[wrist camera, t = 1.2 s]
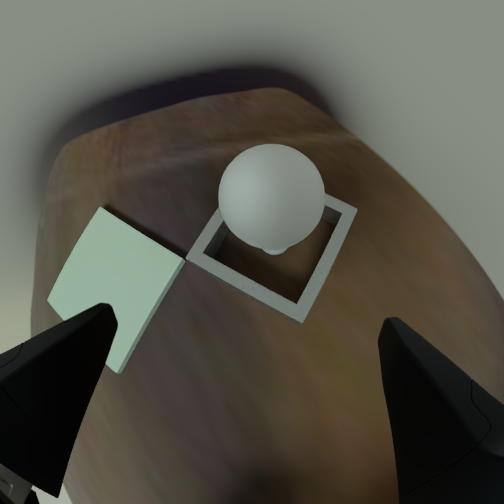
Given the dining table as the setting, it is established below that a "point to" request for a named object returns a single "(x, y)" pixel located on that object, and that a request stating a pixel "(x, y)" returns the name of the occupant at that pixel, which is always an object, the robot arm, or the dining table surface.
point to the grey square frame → (297, 313)
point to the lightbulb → (271, 197)
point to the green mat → (116, 280)
